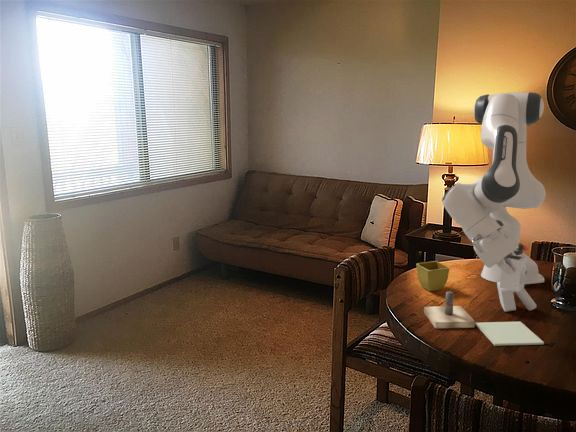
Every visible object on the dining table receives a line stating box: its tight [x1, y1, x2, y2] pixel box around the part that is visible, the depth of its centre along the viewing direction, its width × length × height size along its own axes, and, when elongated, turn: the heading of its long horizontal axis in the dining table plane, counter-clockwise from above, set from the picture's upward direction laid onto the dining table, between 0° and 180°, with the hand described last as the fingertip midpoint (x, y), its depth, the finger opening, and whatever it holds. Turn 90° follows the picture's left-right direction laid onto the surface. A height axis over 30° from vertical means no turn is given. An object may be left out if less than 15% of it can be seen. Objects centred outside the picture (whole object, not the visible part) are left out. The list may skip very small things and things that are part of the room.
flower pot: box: [415, 260, 450, 292], centre depth 186 cm, size 9×9×9 cm
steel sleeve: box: [500, 254, 527, 292], centre depth 146 cm, size 5×5×9 cm
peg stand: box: [423, 290, 476, 329], centre depth 160 cm, size 12×12×9 cm
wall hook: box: [496, 282, 537, 313], centre depth 167 cm, size 8×10×10 cm
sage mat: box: [475, 321, 545, 347], centre depth 150 cm, size 14×14×1 cm
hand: (515, 270), depth 146 cm, fingers closed on steel sleeve, 5 cm apart
